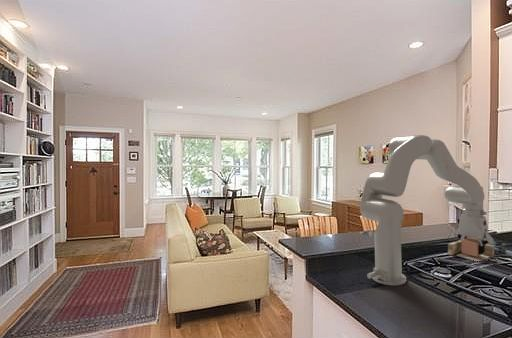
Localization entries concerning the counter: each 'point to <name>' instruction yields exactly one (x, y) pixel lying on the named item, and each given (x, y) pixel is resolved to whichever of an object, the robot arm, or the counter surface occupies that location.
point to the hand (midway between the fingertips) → (472, 251)
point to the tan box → (456, 248)
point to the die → (489, 242)
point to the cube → (470, 246)
